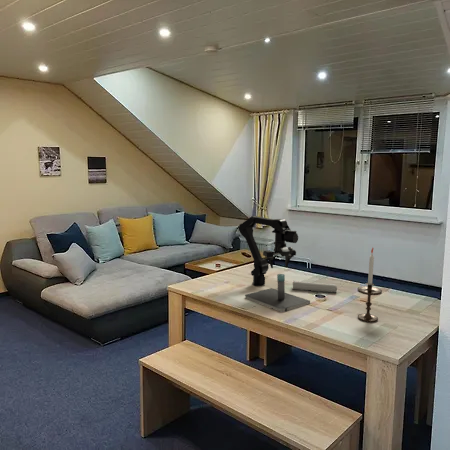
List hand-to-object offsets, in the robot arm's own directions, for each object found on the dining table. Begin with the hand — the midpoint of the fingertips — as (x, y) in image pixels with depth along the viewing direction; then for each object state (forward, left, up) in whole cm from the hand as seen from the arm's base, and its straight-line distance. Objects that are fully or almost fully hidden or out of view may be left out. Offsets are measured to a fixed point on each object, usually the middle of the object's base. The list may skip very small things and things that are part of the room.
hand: (279, 267), depth 242 cm
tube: (+20, -4, -14) cm, 25 cm away
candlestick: (+32, -49, -13) cm, 60 cm away
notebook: (-6, -20, -14) cm, 25 cm away
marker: (-4, -22, -11) cm, 25 cm away
